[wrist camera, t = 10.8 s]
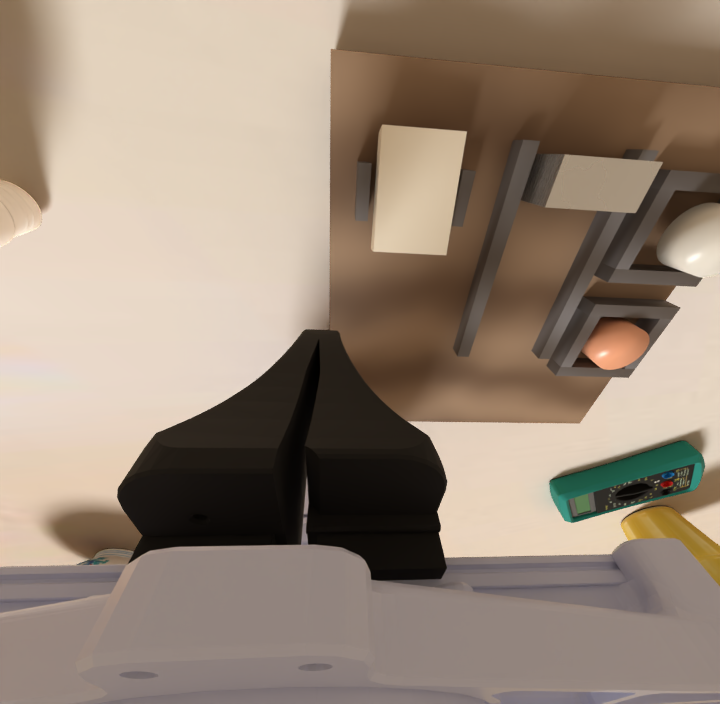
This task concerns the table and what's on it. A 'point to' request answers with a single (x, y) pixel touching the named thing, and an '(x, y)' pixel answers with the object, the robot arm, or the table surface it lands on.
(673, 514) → the plant pot
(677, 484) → the digital multimeter
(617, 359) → the peach egg shape
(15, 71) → the table surface
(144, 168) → the table surface
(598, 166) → the light grey small block
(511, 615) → the robot arm
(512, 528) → the table surface
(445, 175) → the block
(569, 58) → the table surface
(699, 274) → the cream egg shape
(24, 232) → the lightbulb
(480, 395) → the brown flat wooden tray
